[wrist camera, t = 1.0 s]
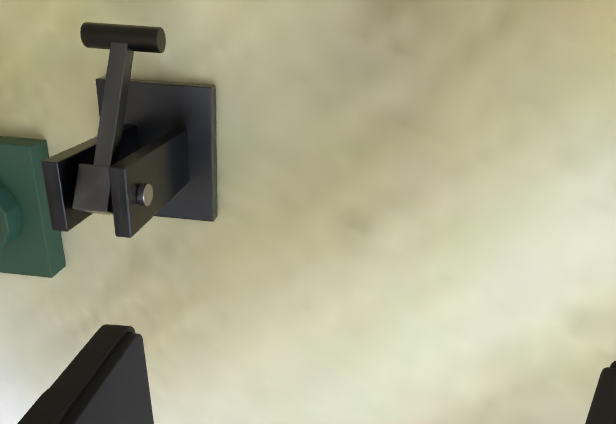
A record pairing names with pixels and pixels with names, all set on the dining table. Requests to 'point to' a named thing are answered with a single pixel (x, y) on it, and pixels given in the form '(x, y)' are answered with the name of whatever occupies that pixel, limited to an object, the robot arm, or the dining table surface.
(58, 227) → the switch bracket
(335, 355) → the dining table surface
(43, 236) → the button block
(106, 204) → the switch lever
